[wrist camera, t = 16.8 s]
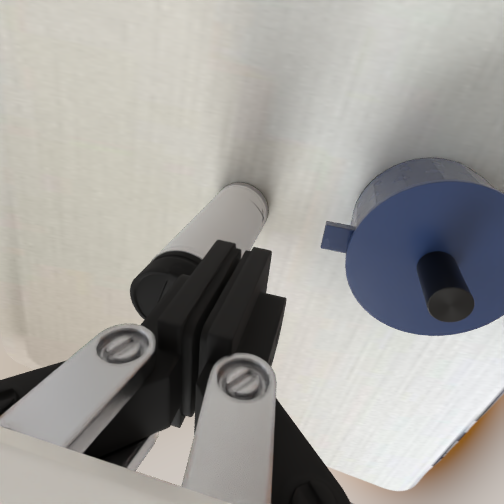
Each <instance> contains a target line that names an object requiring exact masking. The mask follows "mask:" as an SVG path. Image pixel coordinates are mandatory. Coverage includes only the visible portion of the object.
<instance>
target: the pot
mask: <svg viewBox="0 0 504 504" xmlns="http://www.w3.org/2000/svg"><path fill="white" fill-rule="evenodd" d="M443 179H457V180H467V181H472V182H477V183H481V184H484V185H487V186H490V187H492V186H491V185H490V184H489V183H488V182H487V181H486V180H485V179H484V178H483V177H481V176H480V175H478V174H477V173H475V172H474V171H472V170H471V169H470V168H468V167H466V166H464V165H463V164H461V163H459V162H454V161H451V160H446V159H440V158H421V159H414V160H410V161H406V162H403V163H400V164H398V165H395V166H393V167H391V168H389V169H387V170H386V171H384V172H383V173H381V174H380V175H378V176H377V177H376V178H375V179H374V180H373V181H372V182H370V184H369V185H368V186H367V187H366V188H365V189H364V191H363V192H362V194H361V195H360V197H359V199H358V200H357V202H356V206H355V209H354V212H353V218H352V221H351V226H350V225H345V224H340V223H334V222H329V221H327V222H326V225H325V230H324V234H323V239H322V243H321V248H323V249H328V250H333V251H337V252H342V253H346V252H347V247H348V244H349V241H350V238H351V235H352V234H353V232H354V230H355V228H356V226H357V225H358V223H359V222H360V221H361V219H362V218H363V217H364V216H365V215H366V214H367V212H368V211H369V210H370V209H371V208H373V207H374V206H375V205H376V204H377V203H379V202H380V201H382V200H383V199H385V198H386V197H388V196H389V195H391V194H393V193H395V192H397V191H399V190H401V189H403V188H406V187H409V186H412V185H414V184H419V183H423V182H427V181H434V180H443ZM492 188H493V187H492Z"/></svg>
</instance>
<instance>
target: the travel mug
mask: <svg viewBox="0 0 504 504" xmlns="http://www.w3.org/2000/svg"><path fill="white" fill-rule="evenodd" d="M267 216H268V206H267V202H266V200H265V197H264V196H263V195H262V193H261V192H260V191H259V190H258V189H256V188H255V187H253V186H252V185H249V184H246V183H232V184H229V185H227V186H226V187H224V188H223V189H222V190H221V191H220V192H219V193H218V194H217V195H216V196H215V197H214V198H213V199H212V200H211V201H210V202H209V203H208V204H207V205H206V206H205V207H204V208H203V209H202V210H201V211H200V212H199V213H198V214H197V215H196V216H195V217H194V218H193V219H192V220H191V221H190V222H189V223H188V224H187V225H186V226H185V227H184V228H183V229H182V230H181V231H180V232H179V233H178V234H177V235H176V236H175V237H174V238H173V239H172V240H171V241H170V242H169V243H168V244H167V245H166V246H165V247H164V248H163V249H162V250H161V251H160V252H159V254H157V255H156V256H155V258H154V259H153V260H152V261H151V263H150V264H149V265H148V266H147V267H146V268H145V269H144V270H143V271H142V272H141V273H140V274H139V275H138V276H137V277H136V278H135V279H134V280H133V282H132V284H131V288H130V295H131V300H132V303H133V305H134V307H135V309H136V311H137V312H138V313H139V315H140V316H141V317H142V318H143V319H146V318H147V316H148V315H149V314H150V313H151V311H152V310H153V309H154V307H155V306H156V305H157V304H158V302H159V301H160V300H161V299H162V297H163V296H164V295H165V294H166V292H167V291H168V290H169V289H170V287H171V286H172V285H173V284H174V282H175V281H176V280H177V278H178V277H179V276H180V275H182V274H185V275H189V276H190V275H191V274H192V273H193V271H194V270H195V269H196V267H197V266H198V265H199V263H200V262H201V261H202V259H203V258H204V257H205V255H206V254H207V253H208V251H209V250H210V248H211V247H212V246H213V244H214V243H215V242H216V241H217V240H223V241H228V242H232V243H235V244H236V248H238V249H241V258H242V256H243V254H244V252H245V251H246V250H247V251H250V250H251V248H252V246H253V244H254V242H255V240H256V238H257V237H258V235H259V233H260V231H261V229H262V227H263V226H264V224H265V222H266V219H267Z"/></svg>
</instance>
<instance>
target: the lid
mask: <svg viewBox="0 0 504 504" xmlns="http://www.w3.org/2000/svg"><path fill="white" fill-rule="evenodd" d="M345 268H346V276H347V280H348V284H349V286H350V289H351V291H352V293H353V295H354V296H355V298H356V299H357V301H358V302H359V303H360V305H361V306H362V307H363V308H364V309H365V310H366V311H367V312H368V313H369V314H370V315H372V316H373V317H374V318H376V319H377V320H379V321H380V322H382V323H384V324H386V325H388V326H390V327H393V328H395V329H398V330H401V331H404V332H408V333H413V334H418V335H429V336H443V335H452V334H458V333H463V332H467V331H470V330H474V329H477V328H479V327H482V326H484V325H487V324H489V323H491V322H493V321H495V320H496V319H498V318H500V317H501V316H503V315H504V193H502V192H501V191H499V190H497V189H495V188H492V187H490V186H487V185H484V184H481V183H477V182H472V181H467V180H457V179H443V180H434V181H427V182H423V183H419V184H414V185H412V186H409V187H406V188H403V189H401V190H399V191H397V192H395V193H393V194H391V195H389V196H388V197H386V198H385V199H383V200H382V201H380V202H379V203H377V204H376V205H375V206H374V207H373V208H371V209H370V210H369V211H368V212H367V214H366V215H365V216H364V217H363V218H362V219H361V221H360V222H359V223H358V225H357V226H356V228H355V230H354V232H353V234H352V235H351V238H350V241H349V244H348V247H347V252H346V264H345Z"/></svg>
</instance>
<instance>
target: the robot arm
mask: <svg viewBox="0 0 504 504" xmlns="http://www.w3.org/2000/svg"><path fill="white" fill-rule="evenodd" d="M271 255H272V251H270V250H265V249H261V248H256V247H253V249H252V251H247V250H246V251H245V252H244V254H243V256H242V258H241V249H238V248H236V244H235V243H232V242H228V241H223V240H217V241H216V242H215V243H214V244H213V246H212V247H211V248H210V250H209V251H208V253H207V254H206V255H205V257H204V258H203V259H202V261H201V262H200V263H199V265H198V266H197V267H196V269H195V270H194V271H193V273H192V274H191V275H190V276H189V275H185V274H182V275H180V276H179V277H178V278H177V280H176V281H175V282H174V284H173V285H172V286H171V287H170V289H169V290H168V291H167V292H166V294H165V295H164V296H163V297H162V299H161V300H160V301H159V302H158V304H157V305H156V306H155V307H154V309H153V310H152V311H151V313H150V314H149V315H148V316H147V318H146V319H145V320H144V321H143V323H142V324H141V325H137V324H120V325H115V326H112V327H110V328H107V329H105V330H104V331H102V332H101V333H99V334H98V335H96V336H95V337H94V338H93V339H92V340H90V341H89V342H88V343H87V344H86V345H84V346H83V347H82V348H81V349H80V350H79V351H77V352H76V353H75V354H74V355H73V356H71V357H70V358H69V359H68V360H67V361H63V362H60V363H57V364H53V365H50V366H47V367H43V368H40V369H36V370H33V371H30V372H26V373H23V374H20V375H16V376H13V377H10V378H6V379H3V380H0V504H353V503H351V502H350V501H349V499H348V498H347V496H346V494H345V492H344V490H343V489H342V487H341V486H340V485H339V483H338V482H337V480H336V479H335V478H334V476H333V475H332V474H331V472H330V471H329V470H328V468H327V467H326V465H325V464H324V463H323V461H322V460H321V459H320V457H319V456H318V455H317V453H316V452H315V450H314V449H313V448H312V446H311V445H310V444H309V442H308V441H307V440H306V438H305V437H304V436H303V434H302V433H301V431H300V430H299V429H298V427H297V426H296V425H295V423H294V422H293V421H292V419H291V418H290V416H289V415H288V414H287V412H286V411H285V410H284V408H283V407H282V406H281V404H280V403H279V401H278V400H277V399H276V383H277V382H276V376H275V373H274V371H273V369H272V367H271V366H272V362H273V359H274V355H275V351H276V347H277V344H278V339H279V335H280V331H281V326H282V321H283V316H284V311H285V305H286V298H284V297H280V296H275V295H271V294H267V293H266V289H267V282H268V276H269V269H270V262H271ZM194 412H195V429H194V430H195V431H194V439H193V443H192V447H191V451H190V455H189V459H188V463H187V467H186V470H185V475H184V478H183V483H182V486H177V485H175V484H172V483H169V482H166V481H163V480H160V479H157V478H154V477H151V476H148V475H145V474H142V473H139V472H136V470H137V468H138V467H139V465H140V464H141V462H142V461H143V460H144V458H145V457H146V455H147V454H148V452H149V451H150V450H151V448H152V447H153V445H154V444H155V442H156V439H157V438H158V435H159V431H162V430H164V429H166V428H168V427H170V425H172V426H175V427H179V428H180V427H181V425H182V422H183V420H184V418H185V416H189V417H192V416H193V414H194Z"/></svg>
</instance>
